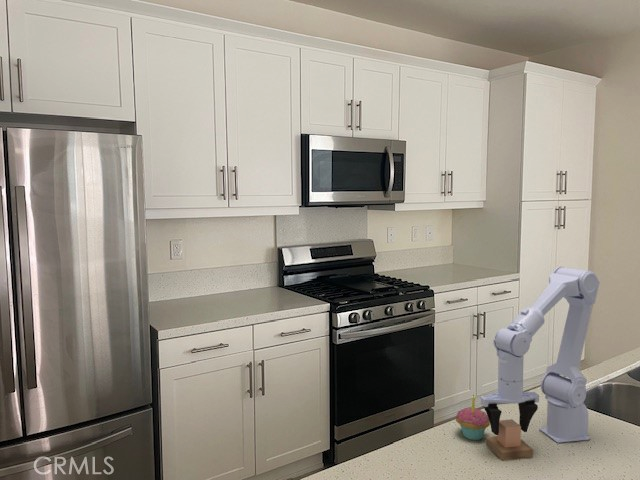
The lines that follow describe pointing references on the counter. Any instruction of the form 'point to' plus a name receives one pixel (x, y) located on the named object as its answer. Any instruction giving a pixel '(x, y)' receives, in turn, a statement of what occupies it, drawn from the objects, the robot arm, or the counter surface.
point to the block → (509, 433)
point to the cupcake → (472, 421)
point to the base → (509, 450)
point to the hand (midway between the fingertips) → (509, 431)
